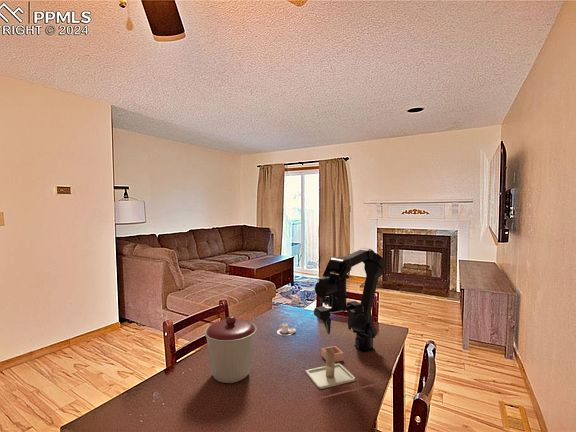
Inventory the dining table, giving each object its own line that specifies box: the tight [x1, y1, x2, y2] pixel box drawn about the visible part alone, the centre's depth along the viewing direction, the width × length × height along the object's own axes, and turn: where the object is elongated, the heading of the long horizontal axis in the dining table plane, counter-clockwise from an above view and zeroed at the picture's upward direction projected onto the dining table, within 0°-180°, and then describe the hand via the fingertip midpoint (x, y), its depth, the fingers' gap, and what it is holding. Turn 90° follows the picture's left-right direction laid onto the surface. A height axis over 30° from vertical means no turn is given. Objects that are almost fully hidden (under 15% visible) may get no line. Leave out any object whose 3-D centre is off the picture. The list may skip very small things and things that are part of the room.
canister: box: [203, 315, 258, 384], centre depth 110 cm, size 18×18×21 cm
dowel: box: [325, 349, 336, 379], centre depth 109 cm, size 3×3×9 cm
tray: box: [304, 362, 357, 390], centre depth 109 cm, size 14×11×1 cm
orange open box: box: [321, 345, 344, 363], centre depth 122 cm, size 6×6×4 cm
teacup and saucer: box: [276, 322, 297, 337], centre depth 147 cm, size 9×8×4 cm
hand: (339, 331), depth 119 cm, fingers open, 9 cm apart
